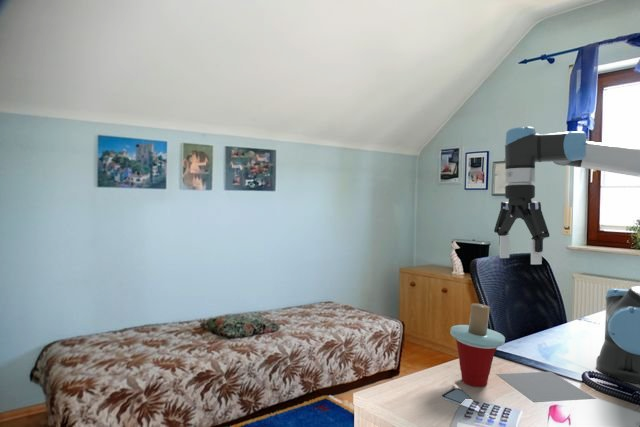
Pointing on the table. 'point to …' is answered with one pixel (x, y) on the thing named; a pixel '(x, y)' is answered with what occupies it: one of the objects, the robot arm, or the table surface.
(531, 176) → the robot arm
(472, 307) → the lid
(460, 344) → the plastic cup
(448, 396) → the smartphone
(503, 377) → the mat
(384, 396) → the table surface
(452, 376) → the table surface
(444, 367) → the table surface
